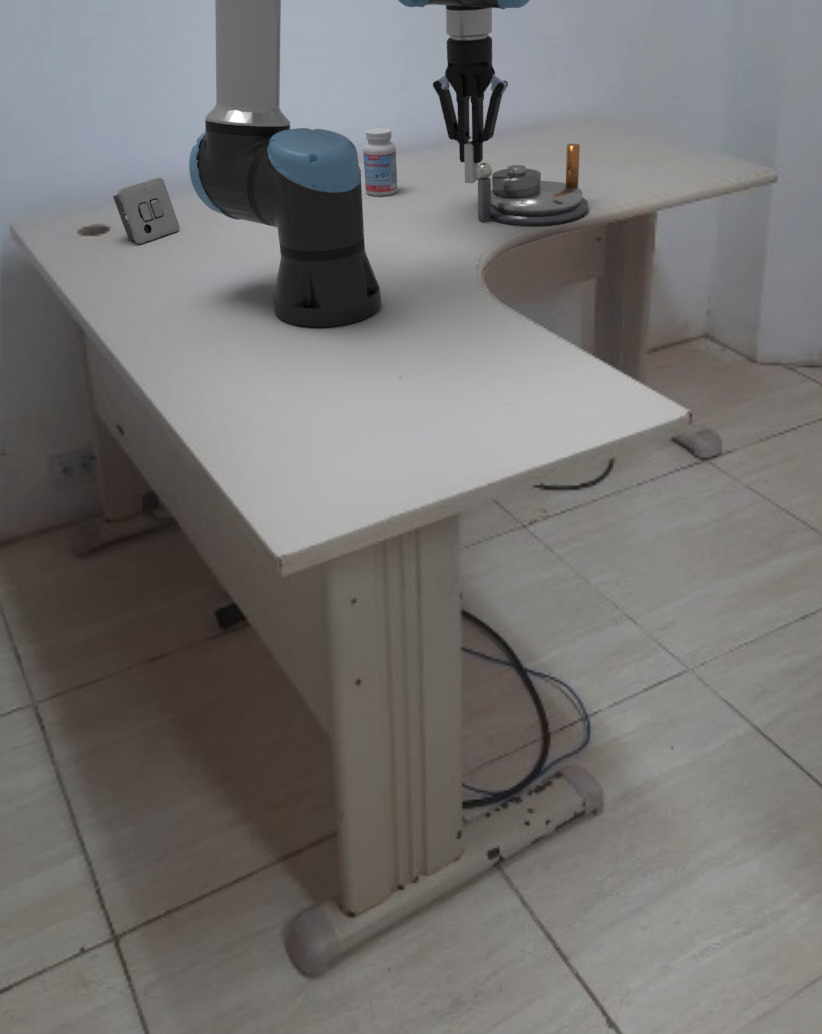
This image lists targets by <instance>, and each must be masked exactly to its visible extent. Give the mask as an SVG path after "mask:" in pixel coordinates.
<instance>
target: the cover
mask: <svg viewBox="0 0 822 1034" xmlns="http://www.w3.org/2000/svg"><path fill="white" fill-rule="evenodd" d="M541 178H542V174H541V172H540V171H539V170H537V169H533V168H532V169H531V168H527V167H526V166H525V165H521V164H512V165H508V166H507V167H506V168H505V169H500V170H497V171H495V172H492V174H491V191H492V193H493V195H495V196H497V197H501V198H510V199H518V198H528V197H533V196H536V195H538V194H539V193H540V191H541V181H542V179H541Z"/></svg>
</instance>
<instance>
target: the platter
mask: <svg viewBox="0 0 822 1034" xmlns="http://www.w3.org/2000/svg"><path fill="white" fill-rule="evenodd" d="M580 147H581V146H580V144H579V143H568V144H566V157H565V158H566V160H565V161H566V162H565V163H566V164H565V165H566V166H565V182H562V181H561V182H560V181H552V180H541V191H540V193H539V194H538V195H536V196H533V197H528V198H518V199H510V198H501V197H497V196H495V195H493V193H492V190H491V207H492V208H494V209H495V210H498V211H501V212H504V213H509V214H516V215H550V214H557V213H562V212H566V211H570V210H573V209H575V208H577V207H578V206H580V205H581V203H582V197H583V191H582V189H581V188H579V177H580V175H579V174H580V172H579V171H580V170H579V169H580V152H581V151H580Z"/></svg>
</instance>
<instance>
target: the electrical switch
mask: <svg viewBox="0 0 822 1034" xmlns="http://www.w3.org/2000/svg"><path fill="white" fill-rule="evenodd" d="M112 198H113V200H114V204H115V206H116V208H117V211H118V214H119V217H120V220H121V222H122V225H123V228H124V231H125V233H126V237H127V238H128V241H129V240H132V241H134V242H135V243H136V244H137V245H141V244H145V243H147V241H148V242H151V241H153V240H156V239H158V238H161V236H162V237H165V236H167V234H168V235H170V233H171V234H173V233H175V232H178V231H179V230H180V224H179V222H178V218H177V215H176V212H175V209H174V207H173V203H172V201H171V197H170V195H169V191H168V189H167V186H166V183H165V181H164V178H162V177H156V178H152V179H149V180H144V181H141V182H138V183H134V184H132V185H129V186H125V187H123V188H122V187H121V188H119V189H118V192H117V194H115V195H113V197H112ZM164 235H165V236H164Z"/></svg>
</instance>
